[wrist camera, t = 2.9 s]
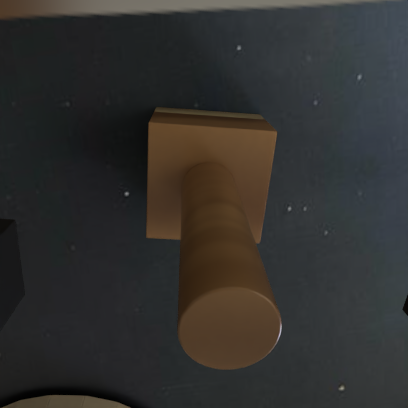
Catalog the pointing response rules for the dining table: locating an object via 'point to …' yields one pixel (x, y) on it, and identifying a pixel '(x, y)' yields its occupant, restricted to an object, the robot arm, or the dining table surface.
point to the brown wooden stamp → (215, 229)
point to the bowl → (65, 402)
